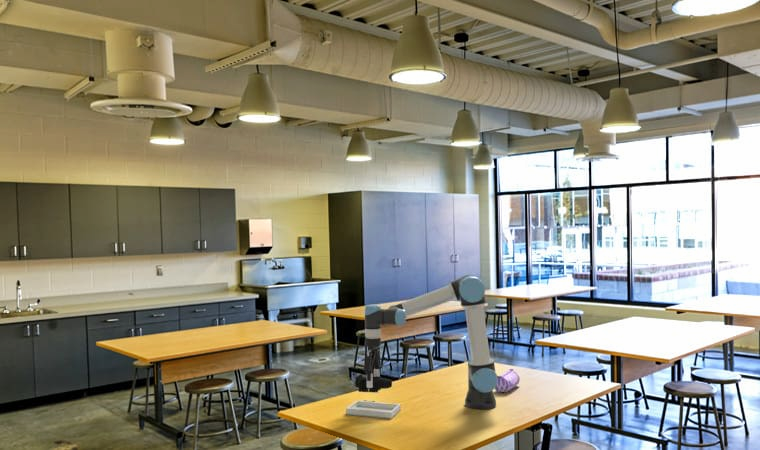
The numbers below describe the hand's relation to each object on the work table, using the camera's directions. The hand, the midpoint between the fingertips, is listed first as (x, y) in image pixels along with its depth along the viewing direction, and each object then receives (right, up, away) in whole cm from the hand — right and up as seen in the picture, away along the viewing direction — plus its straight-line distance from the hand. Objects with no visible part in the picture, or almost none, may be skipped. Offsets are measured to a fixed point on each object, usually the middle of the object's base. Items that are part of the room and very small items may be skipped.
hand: (373, 385), depth 284 cm
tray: (0, -13, 0) cm, 13 cm away
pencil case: (+73, -14, +42) cm, 85 cm away
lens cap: (-2, -14, +14) cm, 20 cm away
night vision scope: (0, -3, 0) cm, 3 cm away
